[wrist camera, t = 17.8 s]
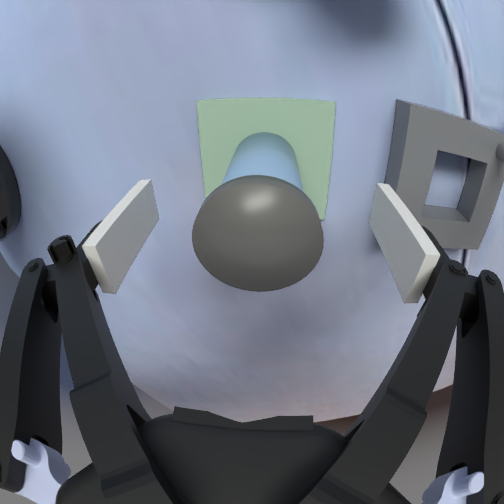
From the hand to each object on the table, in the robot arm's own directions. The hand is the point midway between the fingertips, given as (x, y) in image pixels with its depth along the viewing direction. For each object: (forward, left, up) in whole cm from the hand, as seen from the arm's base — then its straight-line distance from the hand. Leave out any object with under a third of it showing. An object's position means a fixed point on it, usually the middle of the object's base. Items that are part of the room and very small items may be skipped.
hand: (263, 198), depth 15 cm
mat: (0, 0, -7) cm, 7 cm away
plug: (0, 0, -6) cm, 6 cm away
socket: (+16, 0, -7) cm, 17 cm away
